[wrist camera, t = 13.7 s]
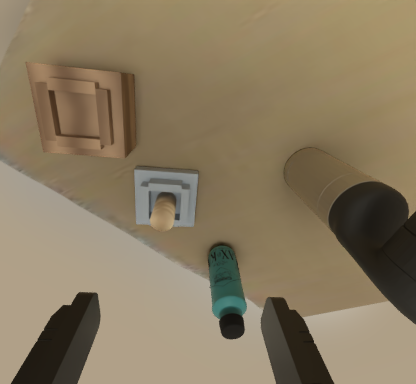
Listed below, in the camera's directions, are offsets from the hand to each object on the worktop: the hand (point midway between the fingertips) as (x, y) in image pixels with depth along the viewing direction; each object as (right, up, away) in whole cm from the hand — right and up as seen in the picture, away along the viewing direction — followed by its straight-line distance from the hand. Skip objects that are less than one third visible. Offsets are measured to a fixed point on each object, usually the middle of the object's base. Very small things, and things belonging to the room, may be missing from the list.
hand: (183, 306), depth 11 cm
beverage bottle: (+4, -9, +44) cm, 46 cm away
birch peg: (-7, +4, +35) cm, 36 cm away
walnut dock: (-18, +20, +29) cm, 40 cm away
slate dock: (-7, +5, +37) cm, 38 cm away
